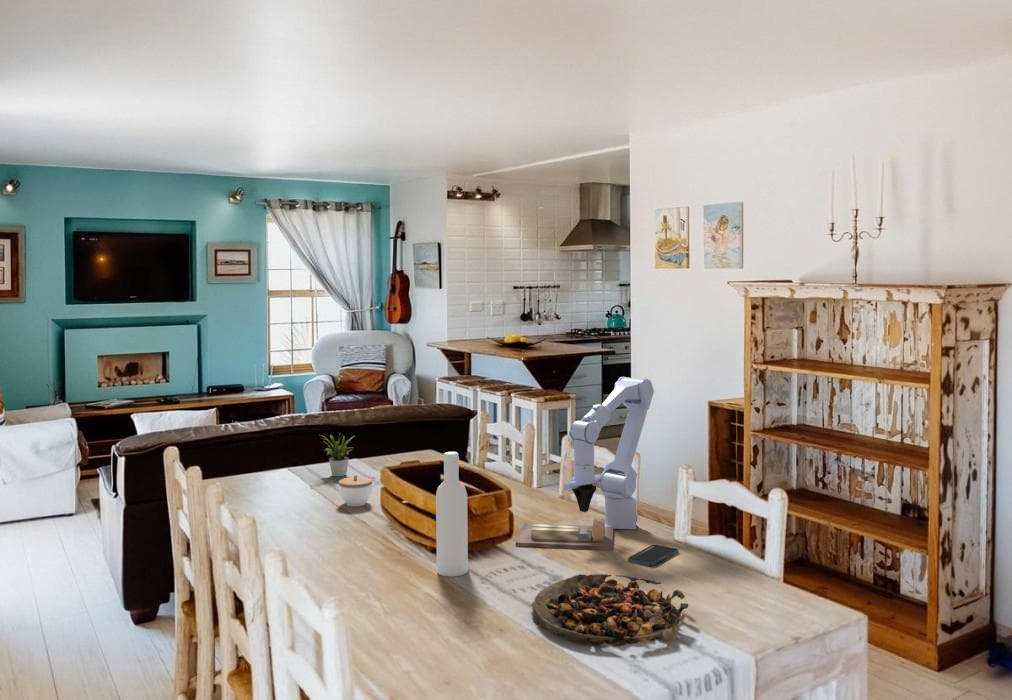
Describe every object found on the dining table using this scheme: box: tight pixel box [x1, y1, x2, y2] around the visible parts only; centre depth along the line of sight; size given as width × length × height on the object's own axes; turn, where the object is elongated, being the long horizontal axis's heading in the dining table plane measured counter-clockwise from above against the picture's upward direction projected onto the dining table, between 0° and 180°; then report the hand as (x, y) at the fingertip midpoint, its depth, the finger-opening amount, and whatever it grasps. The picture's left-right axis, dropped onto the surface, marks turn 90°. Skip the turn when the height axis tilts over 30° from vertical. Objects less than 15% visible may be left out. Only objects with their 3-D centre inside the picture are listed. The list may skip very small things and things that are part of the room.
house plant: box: [319, 433, 355, 477], centre depth 317 cm, size 14×14×16 cm
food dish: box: [530, 573, 689, 647], centre depth 186 cm, size 35×33×8 cm
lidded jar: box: [338, 474, 373, 507], centre depth 278 cm, size 11×11×9 cm
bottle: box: [435, 451, 469, 578], centre depth 213 cm, size 8×8×30 cm
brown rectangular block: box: [592, 517, 605, 542], centre depth 237 cm, size 3×6×5 cm, turn 172°
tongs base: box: [515, 523, 614, 551], centre depth 241 cm, size 26×18×4 cm
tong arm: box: [532, 523, 580, 531], centre depth 240 cm, size 13×2×2 cm, turn 78°
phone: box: [627, 544, 679, 568], centre depth 225 cm, size 8×1×15 cm
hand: (583, 511), depth 242 cm, fingers closed
